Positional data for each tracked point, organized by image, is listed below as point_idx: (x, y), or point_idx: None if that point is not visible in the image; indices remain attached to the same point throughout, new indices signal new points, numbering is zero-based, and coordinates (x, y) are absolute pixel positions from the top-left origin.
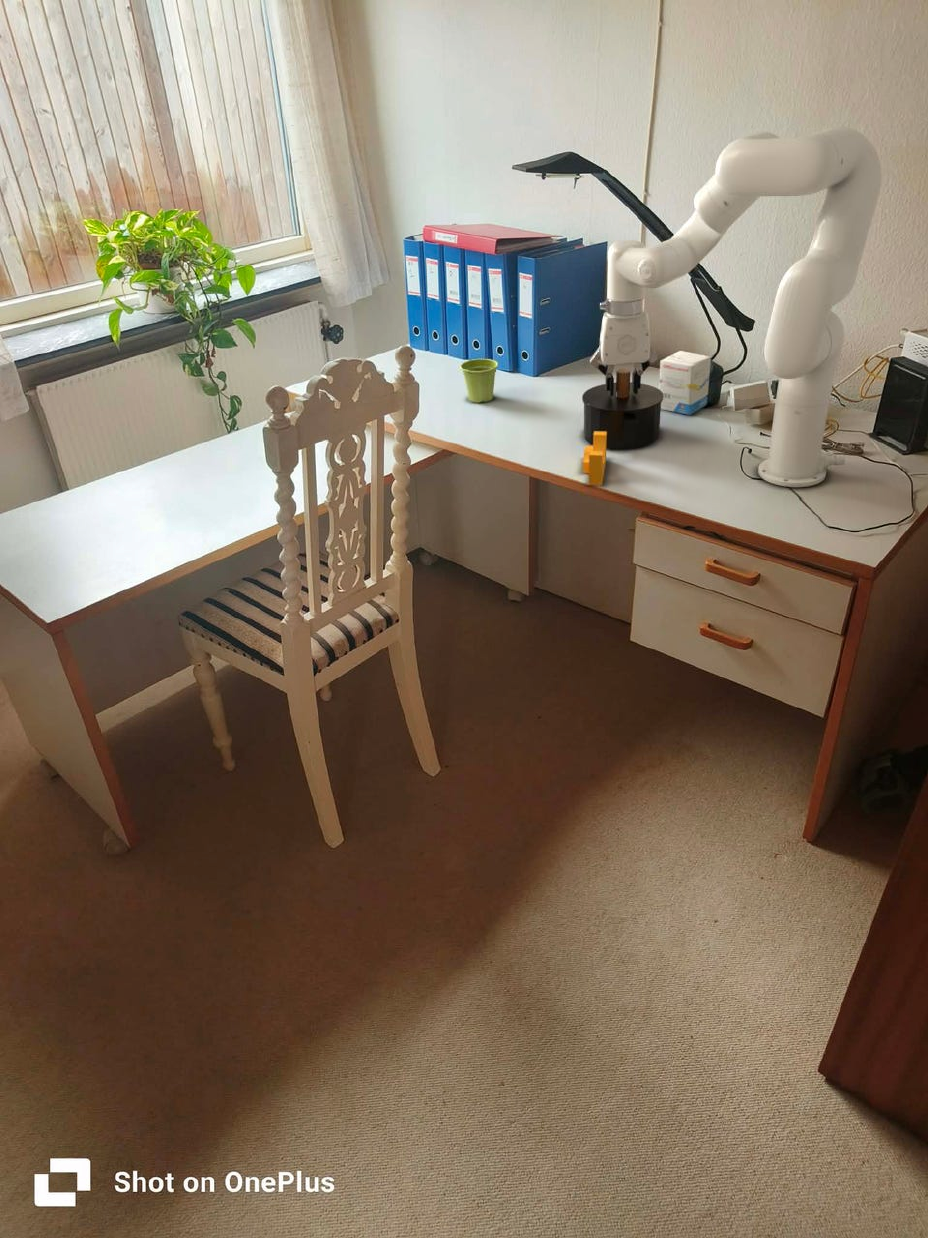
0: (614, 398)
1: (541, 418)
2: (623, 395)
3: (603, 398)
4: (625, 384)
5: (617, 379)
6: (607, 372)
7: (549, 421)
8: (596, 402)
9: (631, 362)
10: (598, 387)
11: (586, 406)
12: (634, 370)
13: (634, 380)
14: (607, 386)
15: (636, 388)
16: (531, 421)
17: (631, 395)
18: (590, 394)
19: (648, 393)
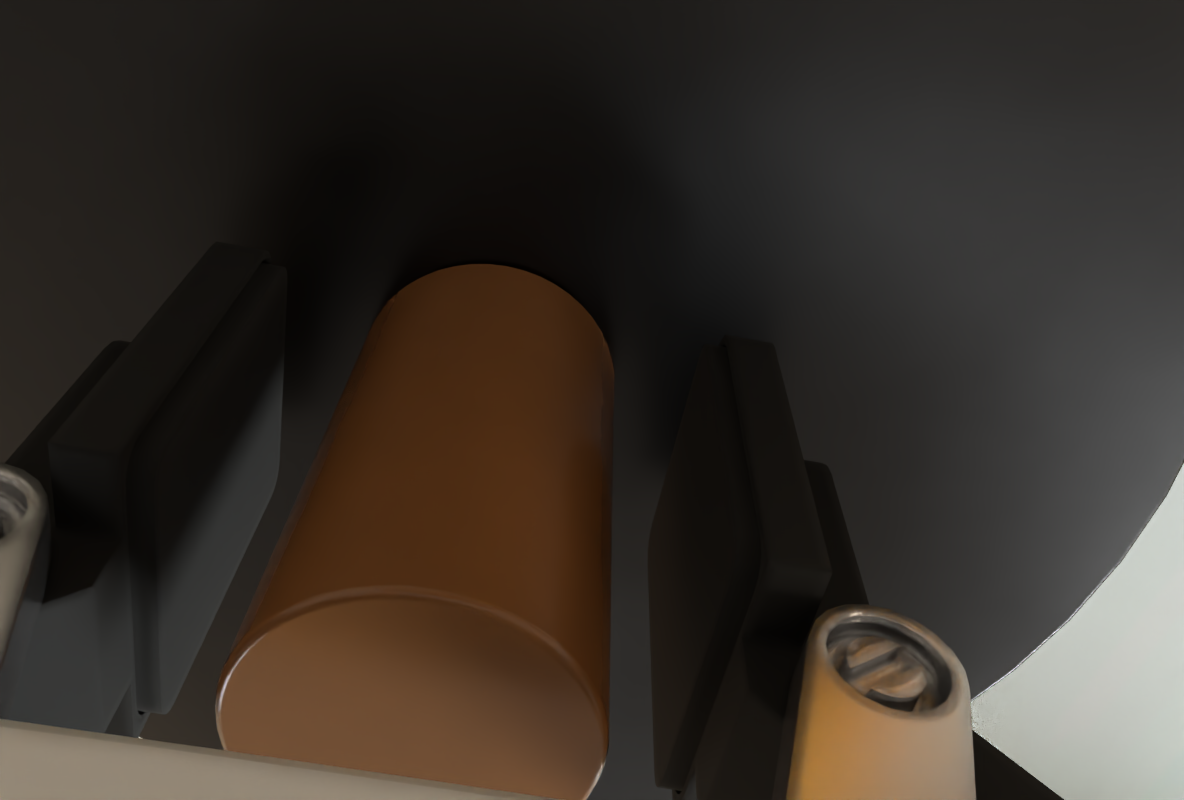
0: (672, 315)
1: (1050, 736)
2: (511, 287)
3: (852, 384)
4: (445, 401)
5: (605, 565)
6: (948, 731)
7: (1026, 669)
8: (1066, 262)
9: (95, 753)
10: None
11: None
12: (97, 704)
13: (198, 430)
14: (823, 503)
15: (214, 287)
16: (1159, 715)
17: (334, 326)
18: (946, 603)
19: (8, 299)
